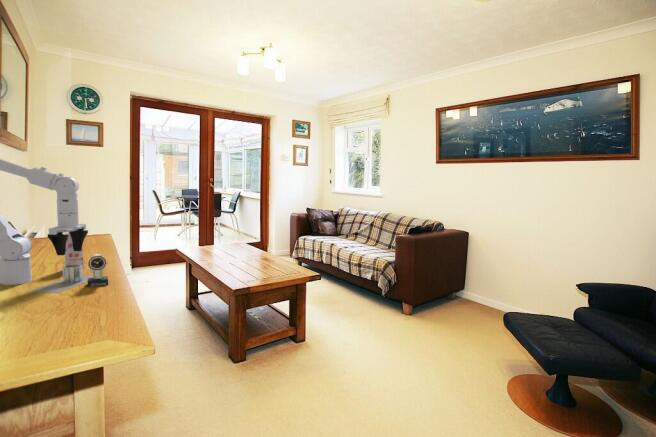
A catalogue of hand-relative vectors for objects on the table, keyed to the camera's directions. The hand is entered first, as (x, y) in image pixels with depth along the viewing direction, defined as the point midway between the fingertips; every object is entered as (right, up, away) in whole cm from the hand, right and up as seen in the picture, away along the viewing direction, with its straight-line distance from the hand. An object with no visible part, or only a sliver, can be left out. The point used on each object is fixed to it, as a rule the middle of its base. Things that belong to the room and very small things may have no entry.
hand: (69, 253), depth 122 cm
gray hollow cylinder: (+3, -9, -2) cm, 10 cm away
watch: (+13, -11, -5) cm, 18 cm away
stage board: (+3, -11, -5) cm, 12 cm away
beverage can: (-8, -9, +14) cm, 18 cm away
